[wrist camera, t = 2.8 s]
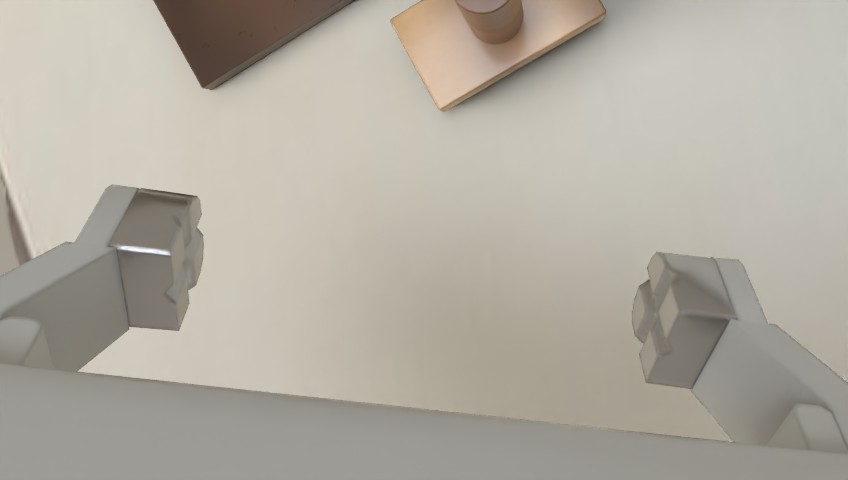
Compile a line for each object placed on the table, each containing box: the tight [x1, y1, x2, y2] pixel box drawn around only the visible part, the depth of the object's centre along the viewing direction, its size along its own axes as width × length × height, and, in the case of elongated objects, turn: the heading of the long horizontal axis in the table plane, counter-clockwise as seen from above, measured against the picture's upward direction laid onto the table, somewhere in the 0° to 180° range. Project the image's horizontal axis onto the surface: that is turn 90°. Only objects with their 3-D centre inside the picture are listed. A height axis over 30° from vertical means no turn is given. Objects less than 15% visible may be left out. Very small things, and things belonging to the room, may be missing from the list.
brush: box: [390, 0, 606, 112], centre depth 35 cm, size 9×5×10 cm, turn 119°
